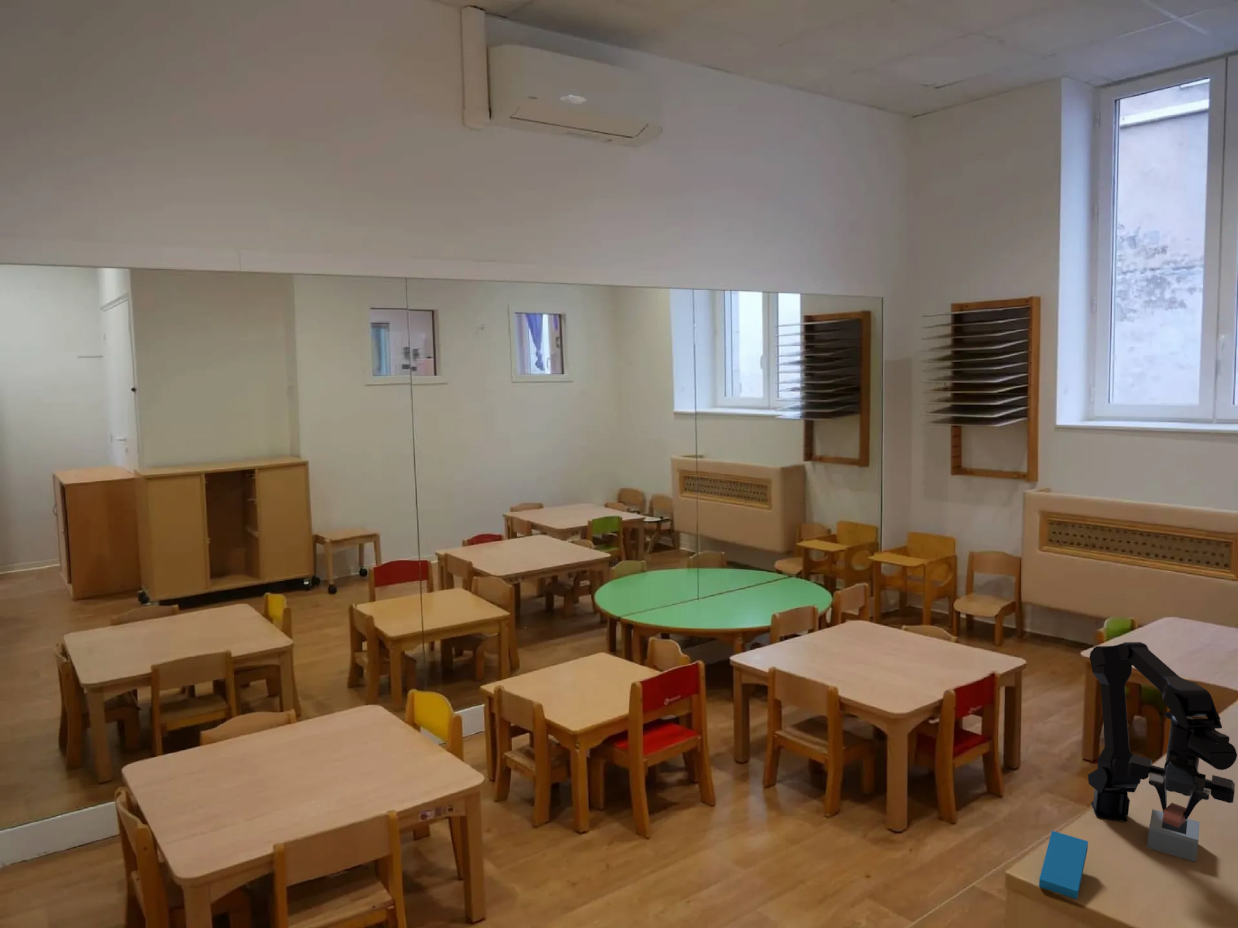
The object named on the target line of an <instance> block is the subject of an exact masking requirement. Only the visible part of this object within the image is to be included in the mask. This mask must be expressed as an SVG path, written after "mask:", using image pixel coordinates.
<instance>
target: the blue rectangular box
mask: <svg viewBox="0 0 1238 928" xmlns="http://www.w3.org/2000/svg"><path fill="white" fill-rule="evenodd" d="M1088 847H1089V841H1088V840H1085V839H1083V838H1079V837H1076V836H1071V835H1070V834H1069V835H1068V834H1065V833H1061V832H1058V831H1055V830H1051V832H1050V836H1049V840H1048V844H1047V849H1046V852H1045V855H1044V860H1043V864H1042V868H1041V871H1040V875H1039V881H1038V887H1039V888H1042V889H1045V890H1048V891H1050V890H1051V892H1053V893H1056V892H1057V893H1056V894H1059V895H1062V894H1063V896H1065V895H1066V896H1065V897H1068V898H1072V899H1075V900H1077V899H1078V898H1079V897H1078V896H1079V893H1080V892H1079V891H1080V887H1081V883H1082V879H1083V872H1084V868H1085V863H1086V859H1087V853H1088Z"/></svg>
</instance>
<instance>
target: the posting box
mask: <svg viewBox="0 0 1238 928" xmlns="http://www.w3.org/2000/svg"><path fill="white" fill-rule="evenodd" d="M1150 815H1151V816H1150V822H1149V828H1148V836H1147V843H1146V844H1147V845H1146V848H1147V849H1149V850H1154V851H1157V852H1160V853H1164V854H1167V855H1171V856H1174V857H1176V858H1177V857H1178V858H1181V859H1184V860H1187V861H1192V862H1194V863H1196V862H1197V856H1198V849H1199V840H1200V838H1199V837H1200V823H1201V822H1200V821H1197V820H1194V819H1191V818H1187V820H1185V821H1184V822H1183V823H1182V825H1181V826H1180V827H1179V828H1178V827H1175V826H1173V825H1170V824H1167V823H1165V822H1162V821H1163V811H1160V810H1157V809H1153V808H1152V809H1151V814H1150Z"/></svg>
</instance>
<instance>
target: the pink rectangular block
mask: <svg viewBox="0 0 1238 928" xmlns="http://www.w3.org/2000/svg"><path fill="white" fill-rule="evenodd" d="M1185 811H1186V807H1185V806H1182V805H1179V804H1177V803H1173V802H1171V803H1170V804H1169V805H1167V808H1166V809H1165V810H1164V813H1163V821H1162V822H1165V823H1167V824H1170V825H1173V826H1175V827H1178V828H1179V827H1180V826H1181V825H1182V823H1183V822H1184V821H1185V820H1186V819H1185Z"/></svg>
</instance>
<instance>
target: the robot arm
mask: <svg viewBox="0 0 1238 928" xmlns="http://www.w3.org/2000/svg"><path fill="white" fill-rule="evenodd" d="M1089 661H1090V665H1091V672H1092V673H1093V675H1094V677H1095V678H1096V680H1098V682H1099V684H1100V690H1101V691H1100V693H1101V694H1100V696H1101V708H1102V710H1101V711H1102V723H1103V737H1104V739H1103V740H1104V748H1103V749H1102V751H1101V752H1100V755H1099V757H1098V759H1097V768H1096V769H1094V770H1093V771H1091V772H1089V773H1088V775H1087V780H1088V785H1089V786H1091V787H1092V788H1093V789H1094V791H1093V800H1092V801H1091V802H1090V805H1091V808H1092V809H1094V810H1093V812H1094V814H1095V817H1097V818H1101V819H1109V820H1113V821H1119V822H1121V821H1122V822H1128V816H1129V813H1130V812H1129V811H1130V803H1131V801H1130V798H1129V795H1128V793H1135V792H1136V790H1137V788H1138V785H1140V784H1141V780H1147V779H1148V784H1149V785H1150V786H1153V787H1154V788H1155V791H1157V795H1158V797H1159V801H1160V805H1161V809H1162V812H1163V813H1164V810H1165V809H1166V808H1167V807H1168V792H1171V793H1176V794H1177V793H1178V794H1180V795H1182V796H1186V797H1189V798H1188V801H1187V804H1186V807H1185V808H1186V811H1185V819H1186V820H1187V819H1189V817H1190V815H1191V814H1192V812H1193V811H1194V808H1195V807H1196V805H1198V803H1200V801H1202V800H1206V801H1208V800H1209V799H1210V796H1211V797H1212V798H1213V799H1214V800H1217V801H1219V802H1220V801H1221V802H1225V803H1229V804H1231V803H1232V804H1233V803H1234V798H1235V791H1236V790H1235V789H1236V788H1235V785H1236V784H1235V782H1234V780H1232V779H1230V778H1226V777H1222V776H1219V775H1215V774H1212V775H1211V779H1209V778H1206V774H1204V773H1200V772H1199V771H1198V770H1199V764H1200V760H1202V761H1203V762H1204V763H1207V765H1210V767H1212V768H1214V769H1215V770H1219V771H1220V770H1221V771H1223V770H1224V771H1225V770H1227V769H1229V768H1232V767H1233V765H1234V764H1235V762H1236V761H1237V757H1238V752H1237V749H1236V748H1235V746H1234V745H1233V744H1232V743H1231V742H1230V737H1229V736H1228V735H1227V734H1224V733H1222V732H1220V731H1218V730H1217V729H1223V725H1222V722H1221V717H1220V715H1219V714H1218V711H1217V708H1216V705H1215V703H1214V700H1213V698H1212V694H1211V693H1210V692H1209V691H1208V690H1207V689H1205V688H1204V687H1202V686H1201V685H1199V684H1198V683H1196V682H1194V681H1190V680H1188V679H1185V678H1183V677H1181V676H1180V675H1178V674H1177V673H1176V672H1175V671H1173V669H1171V668H1170V667H1169V666H1168V665H1167V664H1166V663H1165V662H1163V661H1162V660H1161V659H1160V658H1159V657H1158V656H1156V654H1154V653H1153V652H1152V651H1151V650H1150V648H1149V646H1147V644H1146V643H1144V642H1141V641H1128V642H1127V641H1126V642H1125V641H1124V642H1123V643H1119V644H1116V645H1098V646H1097V645H1096V646H1094V647H1093V649H1092V650H1090V653H1089ZM1133 667H1134V668H1135V669H1136V671H1138V672H1139V673H1140V674H1141V675H1142V676H1143V677H1144V678H1145V679H1147V680H1148V682H1150V683H1151V684H1152V685H1153V686H1154V687H1155V688H1157V690H1159V692H1160V693H1161V698H1162V702H1163V703H1164V705H1165V706H1166V707H1167V708H1168V710H1169V711H1166V712H1164V713H1163V716H1164V717H1165V718H1167V719H1169V720H1170V726H1169V734H1168V740H1167V748H1166V749H1167V750H1166V757H1165V762H1164V765H1163V767H1162V766H1161V767H1160V766H1157V765H1153V764H1152V762H1153V761H1152V758H1148V757H1144V756H1141V755H1136V754H1133V752H1132V751H1131V750H1130V739H1129V723H1128V712H1127V711H1128V710H1127V699H1126V698H1127V697H1126V696H1127V695H1126V684H1127V683H1128V681H1129V679H1130V677H1131V676H1132V673H1133ZM1194 717H1206V718H1194Z"/></svg>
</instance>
